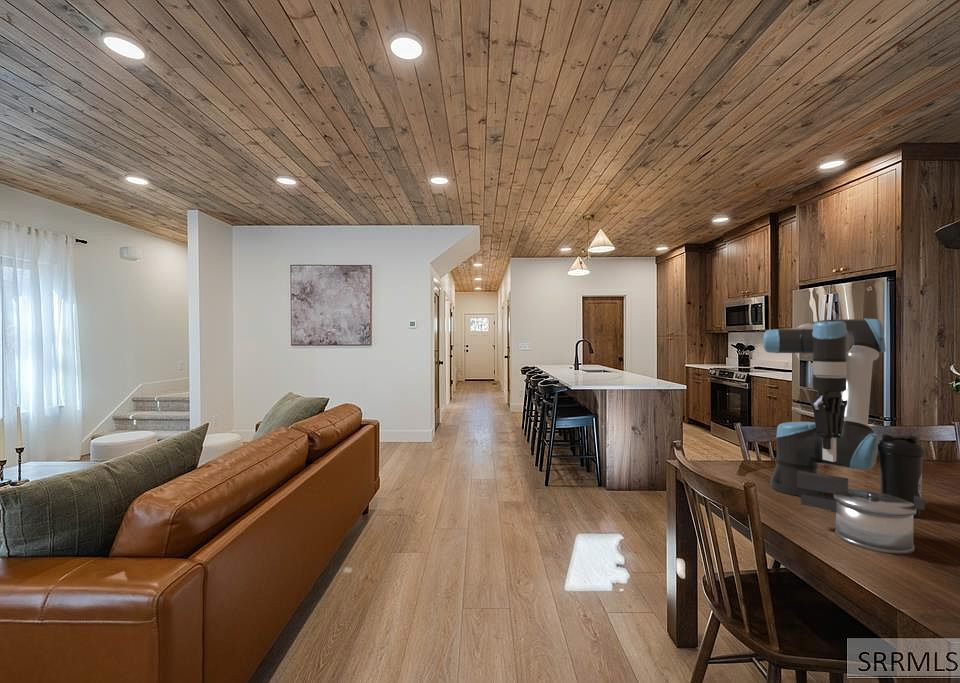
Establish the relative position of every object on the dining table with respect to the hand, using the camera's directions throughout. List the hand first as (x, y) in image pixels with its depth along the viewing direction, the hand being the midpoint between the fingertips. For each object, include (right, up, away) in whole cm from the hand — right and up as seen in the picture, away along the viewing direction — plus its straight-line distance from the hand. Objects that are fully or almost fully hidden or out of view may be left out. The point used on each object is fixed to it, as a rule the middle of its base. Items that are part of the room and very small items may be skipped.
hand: (829, 460), depth 128 cm
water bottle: (+28, -18, +8) cm, 34 cm away
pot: (0, -18, -9) cm, 20 cm away
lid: (0, -8, -9) cm, 12 cm away
